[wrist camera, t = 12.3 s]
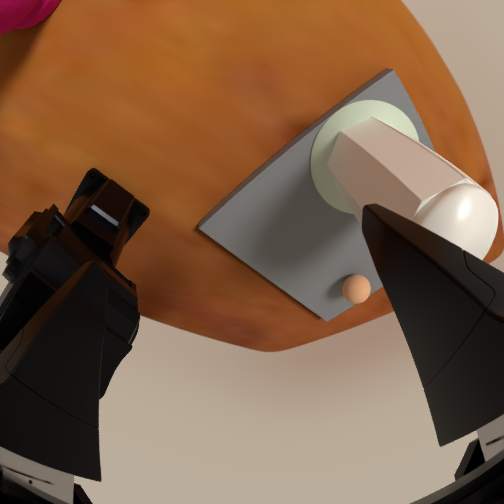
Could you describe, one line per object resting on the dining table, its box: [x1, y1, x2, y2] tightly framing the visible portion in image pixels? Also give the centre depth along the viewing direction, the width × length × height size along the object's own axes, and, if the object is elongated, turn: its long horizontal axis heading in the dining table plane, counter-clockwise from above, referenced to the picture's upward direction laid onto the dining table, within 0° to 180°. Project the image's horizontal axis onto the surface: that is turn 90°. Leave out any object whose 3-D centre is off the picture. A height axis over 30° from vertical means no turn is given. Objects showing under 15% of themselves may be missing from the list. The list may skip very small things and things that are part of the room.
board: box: [199, 68, 435, 321], centre depth 24 cm, size 20×20×1 cm
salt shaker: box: [327, 117, 498, 260], centre depth 15 cm, size 7×7×11 cm
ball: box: [342, 274, 371, 304], centre depth 27 cm, size 3×3×3 cm
